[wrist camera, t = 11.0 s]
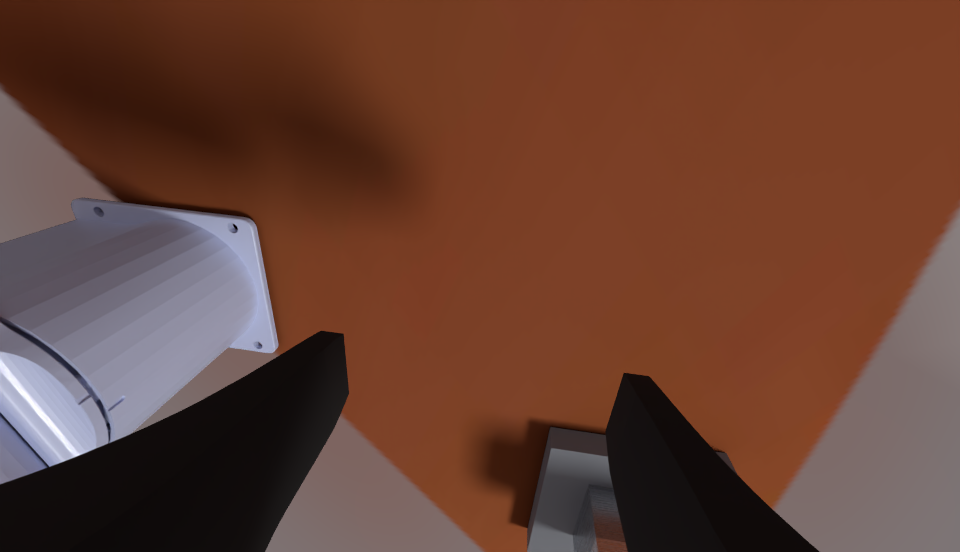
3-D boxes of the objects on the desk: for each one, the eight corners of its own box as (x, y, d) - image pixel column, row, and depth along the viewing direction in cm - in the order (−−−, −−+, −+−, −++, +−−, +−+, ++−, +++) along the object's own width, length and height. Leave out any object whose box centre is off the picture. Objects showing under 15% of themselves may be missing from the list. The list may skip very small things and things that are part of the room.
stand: (527, 528, 28) (527, 551, 27) (550, 426, 23) (551, 448, 22) (673, 553, 27) (680, 577, 26) (726, 453, 23) (738, 476, 21)
